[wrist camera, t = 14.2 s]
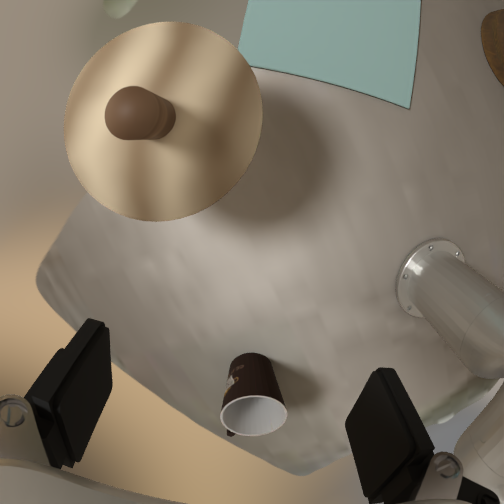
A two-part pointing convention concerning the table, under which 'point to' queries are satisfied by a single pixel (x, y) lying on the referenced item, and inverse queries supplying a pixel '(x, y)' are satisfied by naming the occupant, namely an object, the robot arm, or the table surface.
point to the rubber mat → (337, 42)
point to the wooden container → (494, 42)
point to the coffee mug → (252, 397)
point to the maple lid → (163, 121)
